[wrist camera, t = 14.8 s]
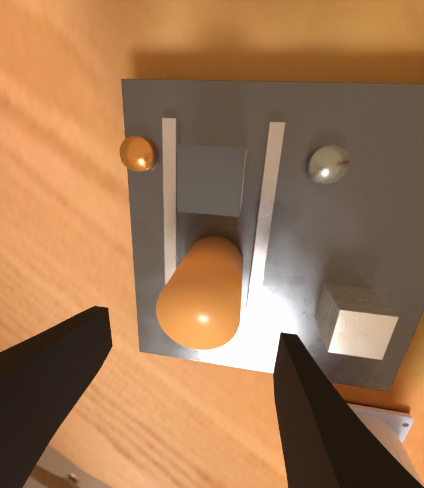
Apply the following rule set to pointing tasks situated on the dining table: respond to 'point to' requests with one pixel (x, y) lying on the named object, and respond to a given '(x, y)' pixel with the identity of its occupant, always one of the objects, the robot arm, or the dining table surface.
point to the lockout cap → (203, 295)
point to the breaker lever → (210, 179)
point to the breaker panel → (289, 216)
